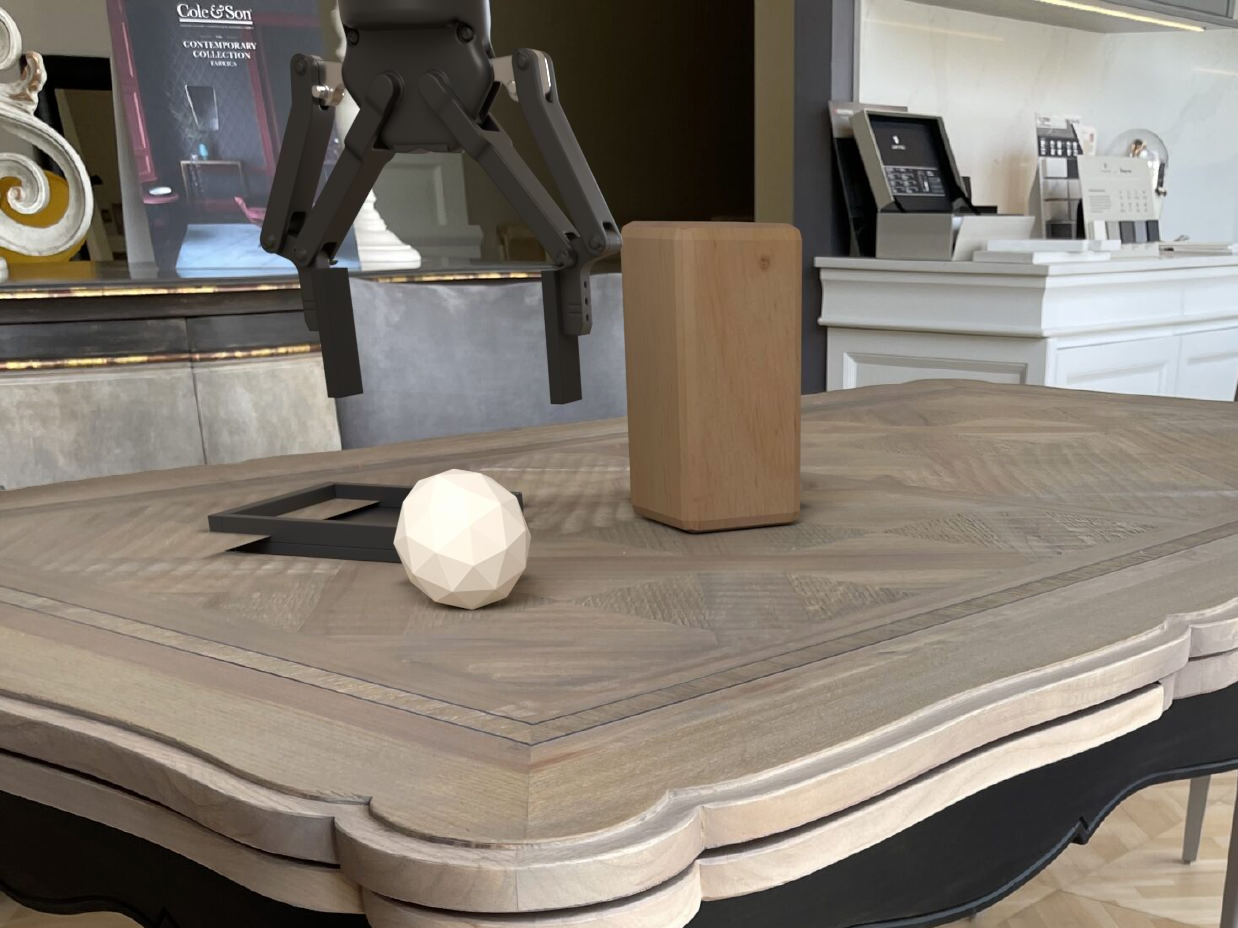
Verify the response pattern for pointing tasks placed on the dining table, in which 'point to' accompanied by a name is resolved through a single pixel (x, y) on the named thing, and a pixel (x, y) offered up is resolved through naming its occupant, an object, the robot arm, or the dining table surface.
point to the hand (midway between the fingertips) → (454, 399)
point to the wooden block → (713, 372)
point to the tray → (323, 523)
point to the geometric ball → (462, 538)
